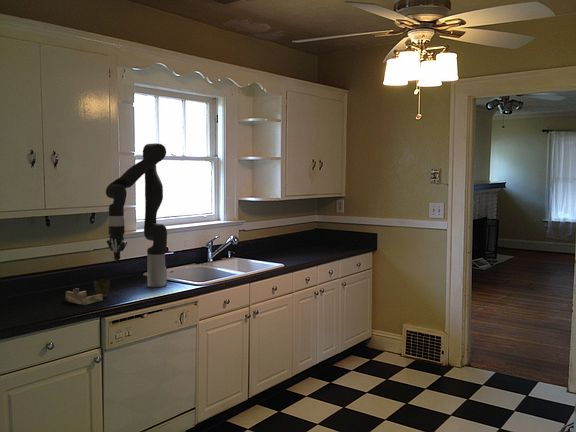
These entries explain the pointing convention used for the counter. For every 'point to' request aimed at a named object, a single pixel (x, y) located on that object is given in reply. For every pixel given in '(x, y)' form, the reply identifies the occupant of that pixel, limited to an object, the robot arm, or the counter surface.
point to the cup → (102, 286)
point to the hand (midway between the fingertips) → (117, 259)
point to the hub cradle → (82, 297)
